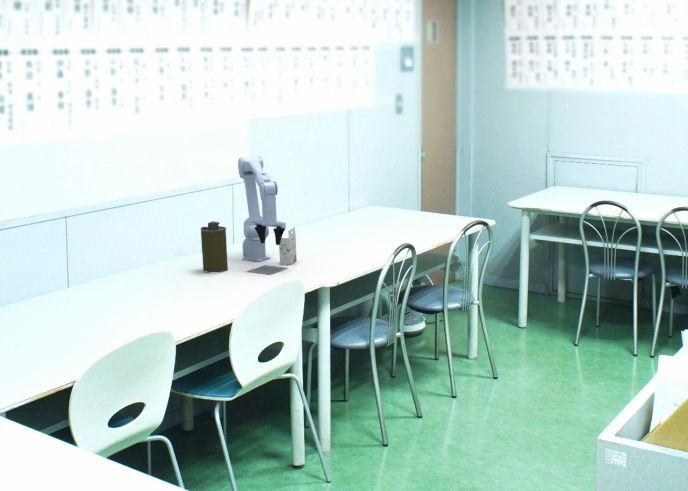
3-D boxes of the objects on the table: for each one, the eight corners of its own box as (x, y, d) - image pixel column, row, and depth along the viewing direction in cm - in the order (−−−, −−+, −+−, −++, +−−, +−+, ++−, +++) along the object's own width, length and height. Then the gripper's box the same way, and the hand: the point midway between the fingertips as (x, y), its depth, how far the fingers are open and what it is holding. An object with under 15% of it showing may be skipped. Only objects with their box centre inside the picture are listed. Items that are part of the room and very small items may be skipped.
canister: (233, 268, 409) (230, 220, 405) (218, 273, 400) (216, 225, 396) (211, 266, 414) (209, 219, 410) (196, 271, 406) (194, 223, 401)
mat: (246, 272, 402) (246, 271, 402) (264, 266, 413) (264, 265, 413) (270, 275, 396) (270, 274, 396) (288, 269, 407) (288, 267, 407)
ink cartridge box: (285, 260, 422) (284, 226, 419) (296, 260, 421) (295, 226, 418) (279, 264, 414) (277, 230, 411) (290, 265, 412) (289, 230, 409)
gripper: (249, 211, 403) (250, 244, 406) (278, 214, 395) (279, 247, 398) (259, 208, 409) (260, 241, 411) (288, 211, 401) (289, 244, 404)
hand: (270, 243), depth 405 cm, fingers open, 7 cm apart
